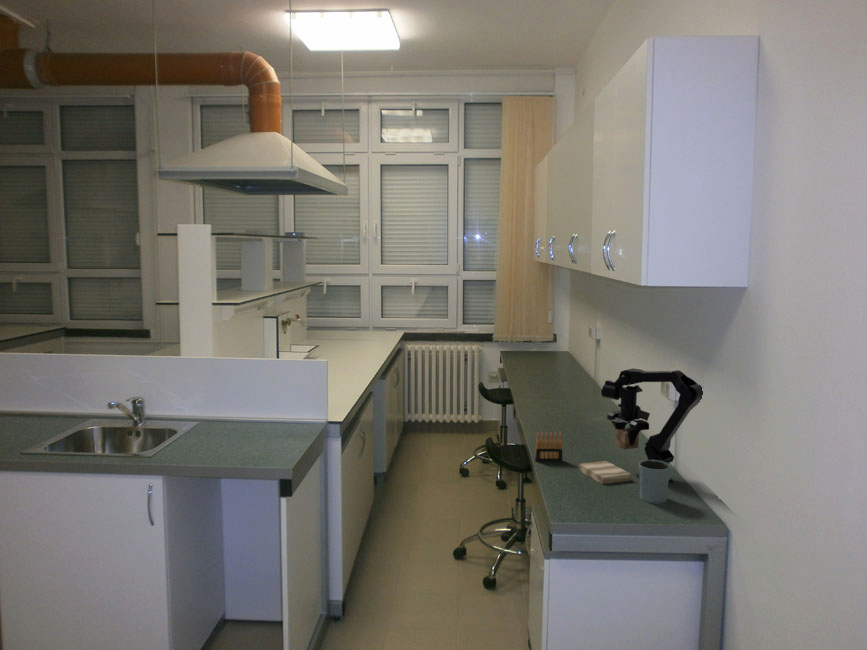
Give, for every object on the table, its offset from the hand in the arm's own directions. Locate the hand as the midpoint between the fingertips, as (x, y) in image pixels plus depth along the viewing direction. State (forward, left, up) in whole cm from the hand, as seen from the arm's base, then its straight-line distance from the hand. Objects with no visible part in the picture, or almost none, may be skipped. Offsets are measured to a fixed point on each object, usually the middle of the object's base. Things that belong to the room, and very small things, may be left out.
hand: (626, 442), depth 255 cm
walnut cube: (0, 0, -1) cm, 1 cm away
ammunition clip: (+19, +22, -11) cm, 31 cm away
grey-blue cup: (-29, +9, -11) cm, 32 cm away
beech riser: (-3, +11, -11) cm, 16 cm away
